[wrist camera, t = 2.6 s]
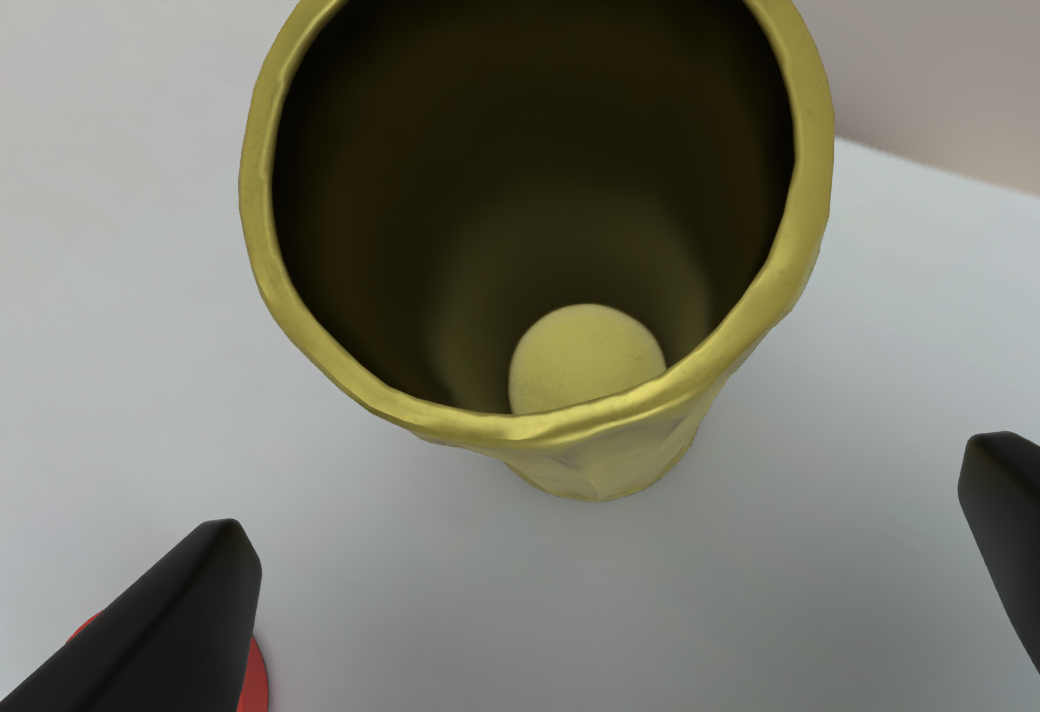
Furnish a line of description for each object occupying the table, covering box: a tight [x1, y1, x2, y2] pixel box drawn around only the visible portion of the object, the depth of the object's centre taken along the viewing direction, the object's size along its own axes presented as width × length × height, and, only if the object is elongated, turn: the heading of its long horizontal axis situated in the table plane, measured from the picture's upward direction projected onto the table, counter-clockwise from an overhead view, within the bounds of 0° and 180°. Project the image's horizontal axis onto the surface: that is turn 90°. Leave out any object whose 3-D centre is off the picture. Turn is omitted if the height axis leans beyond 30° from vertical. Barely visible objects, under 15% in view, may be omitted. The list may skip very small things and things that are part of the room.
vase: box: [238, 0, 835, 502], centre depth 13 cm, size 6×6×14 cm
